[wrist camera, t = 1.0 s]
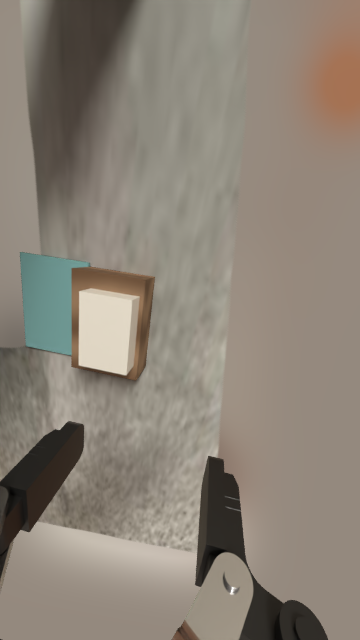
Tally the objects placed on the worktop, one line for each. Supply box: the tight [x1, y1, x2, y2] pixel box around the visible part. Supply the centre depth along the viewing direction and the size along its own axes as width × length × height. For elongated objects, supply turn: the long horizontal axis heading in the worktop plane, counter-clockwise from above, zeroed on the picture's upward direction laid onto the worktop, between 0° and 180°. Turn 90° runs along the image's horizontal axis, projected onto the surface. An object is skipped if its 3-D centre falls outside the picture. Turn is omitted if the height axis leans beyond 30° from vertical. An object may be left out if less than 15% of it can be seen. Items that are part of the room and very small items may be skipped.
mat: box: [20, 252, 90, 356], centre depth 32 cm, size 14×10×1 cm
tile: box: [79, 288, 140, 375], centre depth 26 cm, size 9×6×2 cm, turn 172°
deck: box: [71, 267, 155, 380], centre depth 29 cm, size 13×9×4 cm
